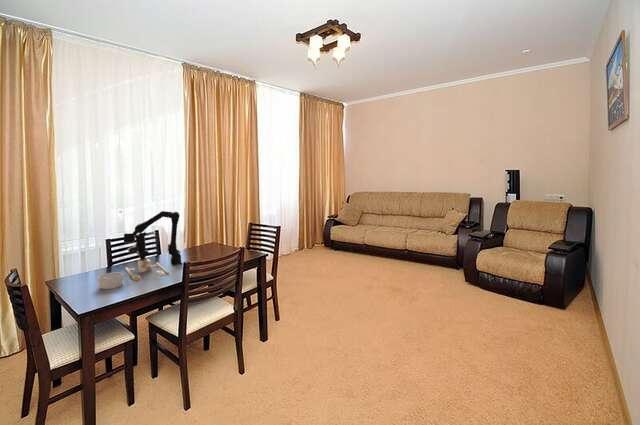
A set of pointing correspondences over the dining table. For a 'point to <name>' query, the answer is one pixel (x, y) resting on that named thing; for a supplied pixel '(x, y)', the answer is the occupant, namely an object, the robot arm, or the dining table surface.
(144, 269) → the maple block
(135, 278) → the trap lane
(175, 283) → the dining table surface
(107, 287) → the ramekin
